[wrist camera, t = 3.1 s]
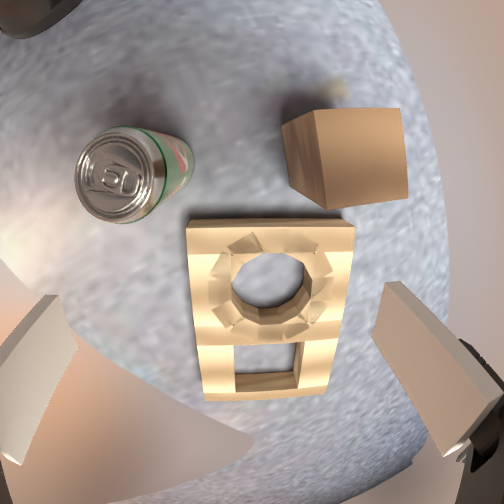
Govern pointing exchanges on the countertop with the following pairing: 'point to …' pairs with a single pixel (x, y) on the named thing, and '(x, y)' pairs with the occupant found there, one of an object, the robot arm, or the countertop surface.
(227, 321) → the socket board
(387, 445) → the countertop surface
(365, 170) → the walnut square peg
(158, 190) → the soda can
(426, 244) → the countertop surface
